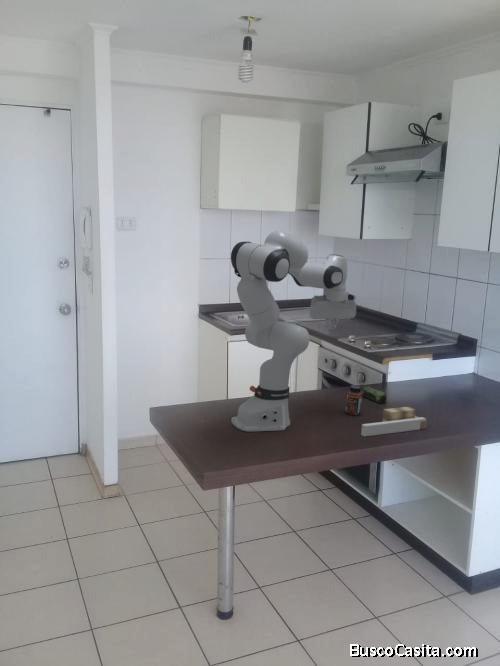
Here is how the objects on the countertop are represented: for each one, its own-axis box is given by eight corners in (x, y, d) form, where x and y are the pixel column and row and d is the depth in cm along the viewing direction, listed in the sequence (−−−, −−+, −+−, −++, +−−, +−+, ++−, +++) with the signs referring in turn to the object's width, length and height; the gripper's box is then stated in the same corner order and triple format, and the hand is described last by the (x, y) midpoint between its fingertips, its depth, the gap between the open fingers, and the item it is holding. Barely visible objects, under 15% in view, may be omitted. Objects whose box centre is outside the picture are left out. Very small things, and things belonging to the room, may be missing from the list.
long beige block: (388, 430, 229) (390, 412, 227) (381, 426, 232) (383, 409, 231) (413, 427, 234) (415, 409, 232) (407, 423, 237) (408, 406, 236)
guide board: (364, 436, 220) (365, 426, 220) (345, 425, 231) (346, 415, 230) (425, 428, 232) (427, 418, 231) (405, 418, 243) (406, 408, 242)
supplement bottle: (343, 413, 245) (345, 387, 242) (348, 410, 250) (350, 383, 248) (357, 416, 242) (360, 389, 240) (362, 412, 247) (364, 386, 245)
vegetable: (388, 403, 262) (389, 392, 261) (379, 405, 259) (381, 393, 258) (366, 394, 274) (367, 383, 273) (357, 395, 271) (358, 385, 270)
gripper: (315, 296, 235) (313, 331, 238) (359, 296, 244) (356, 329, 247) (307, 294, 241) (305, 328, 244) (350, 293, 250) (348, 326, 252)
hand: (331, 329), depth 245 cm, fingers closed
